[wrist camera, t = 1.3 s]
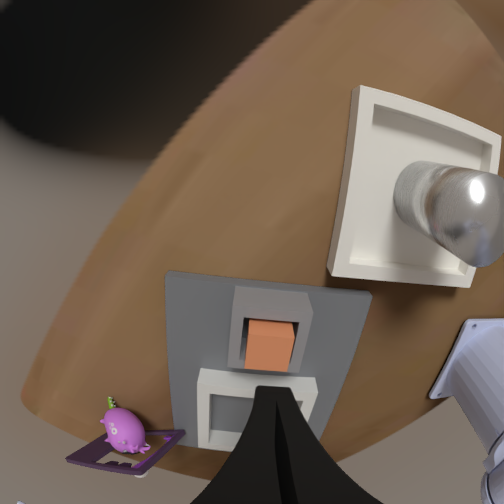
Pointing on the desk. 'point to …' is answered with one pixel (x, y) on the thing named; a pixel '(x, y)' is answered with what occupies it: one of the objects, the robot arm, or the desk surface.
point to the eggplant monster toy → (123, 443)
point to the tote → (383, 182)
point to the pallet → (234, 344)
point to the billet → (454, 209)
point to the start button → (268, 345)
